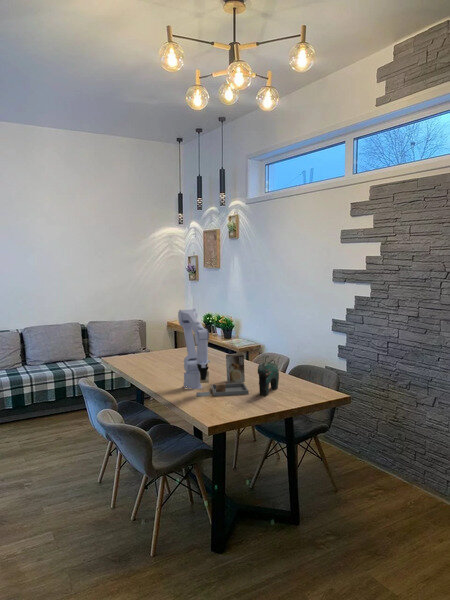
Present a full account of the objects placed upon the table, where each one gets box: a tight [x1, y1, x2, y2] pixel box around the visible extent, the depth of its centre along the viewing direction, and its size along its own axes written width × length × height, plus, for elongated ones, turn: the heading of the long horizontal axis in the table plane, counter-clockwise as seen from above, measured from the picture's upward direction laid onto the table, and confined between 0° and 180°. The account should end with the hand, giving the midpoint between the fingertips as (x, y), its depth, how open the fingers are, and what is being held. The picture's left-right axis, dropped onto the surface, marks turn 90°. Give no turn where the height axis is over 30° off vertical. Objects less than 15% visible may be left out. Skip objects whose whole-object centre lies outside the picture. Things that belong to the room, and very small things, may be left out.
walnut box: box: [215, 382, 226, 392], centre depth 231 cm, size 4×4×5 cm
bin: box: [211, 382, 250, 397], centre depth 235 cm, size 18×15×2 cm
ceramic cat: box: [257, 355, 280, 397], centre depth 231 cm, size 20×6×20 cm, turn 151°
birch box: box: [200, 369, 210, 384], centre depth 230 cm, size 4×4×6 cm
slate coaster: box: [196, 391, 212, 398], centre depth 230 cm, size 7×7×1 cm
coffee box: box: [225, 352, 246, 384], centre depth 254 cm, size 9×6×16 cm
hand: (203, 378), depth 230 cm, fingers closed on birch box, 4 cm apart
